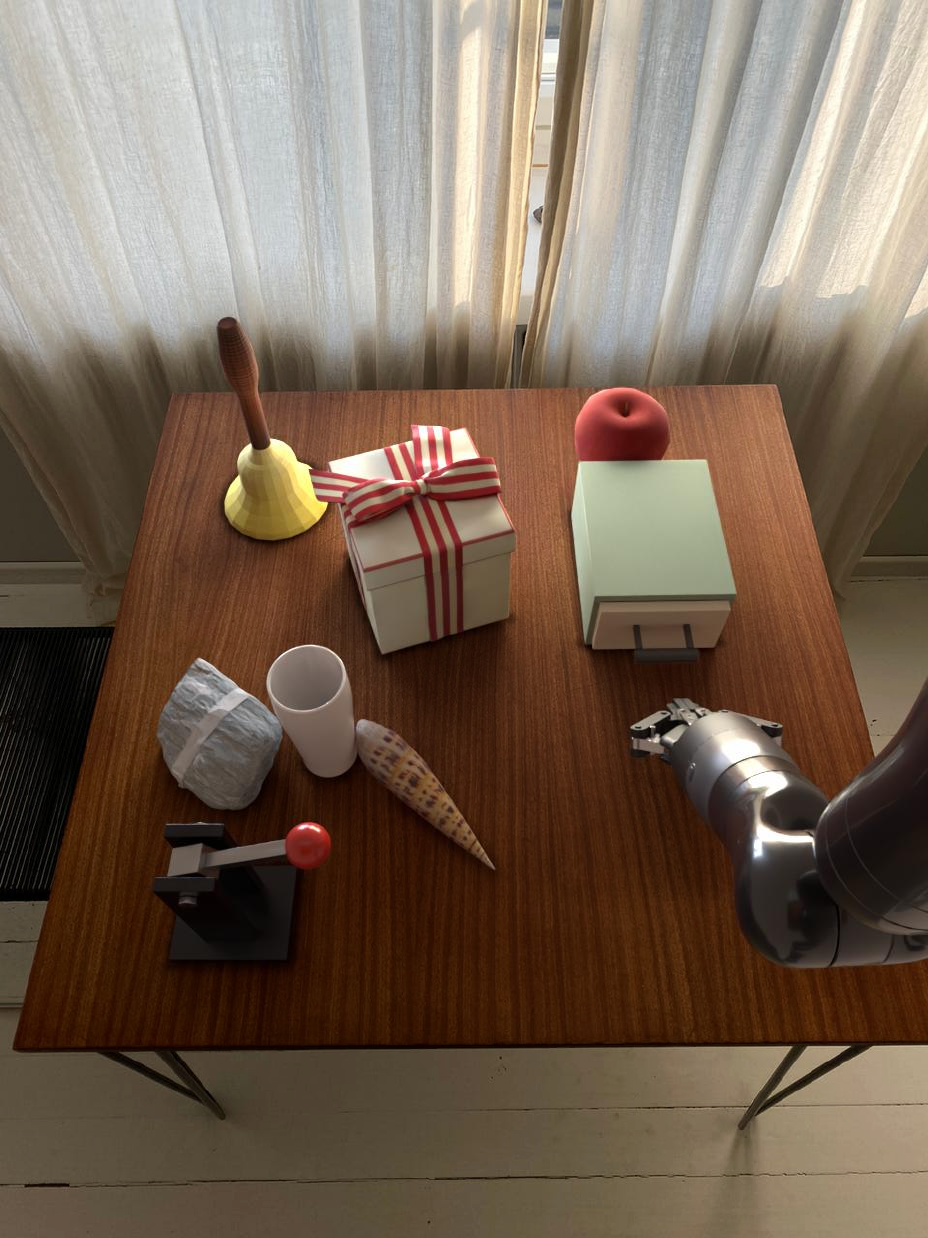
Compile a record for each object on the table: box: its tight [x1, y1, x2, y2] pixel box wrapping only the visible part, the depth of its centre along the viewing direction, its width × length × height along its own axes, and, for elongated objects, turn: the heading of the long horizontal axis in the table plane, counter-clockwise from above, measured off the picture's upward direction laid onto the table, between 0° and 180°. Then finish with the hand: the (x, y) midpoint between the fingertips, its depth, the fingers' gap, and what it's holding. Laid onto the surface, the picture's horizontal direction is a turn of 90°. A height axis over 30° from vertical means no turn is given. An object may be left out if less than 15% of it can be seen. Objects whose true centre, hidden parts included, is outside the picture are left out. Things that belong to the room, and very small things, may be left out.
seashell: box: [355, 718, 496, 871], centre depth 80 cm, size 4×18×5 cm, turn 43°
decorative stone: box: [156, 657, 284, 811], centre depth 83 cm, size 13×10×6 cm
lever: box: [166, 821, 332, 880], centre depth 63 cm, size 13×3×3 cm, turn 90°
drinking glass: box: [266, 644, 358, 778], centre depth 79 cm, size 7×7×15 cm
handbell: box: [215, 316, 329, 541], centre depth 93 cm, size 12×12×25 cm
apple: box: [574, 387, 671, 462], centre depth 100 cm, size 11×11×12 cm
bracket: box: [151, 822, 300, 964], centre depth 70 cm, size 10×8×16 cm
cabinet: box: [570, 459, 738, 645], centre depth 93 cm, size 18×14×9 cm
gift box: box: [308, 424, 517, 655], centre depth 89 cm, size 17×18×17 cm
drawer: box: [591, 600, 732, 665], centre depth 91 cm, size 21×13×7 cm, turn 1°
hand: (679, 708), depth 79 cm, fingers closed
